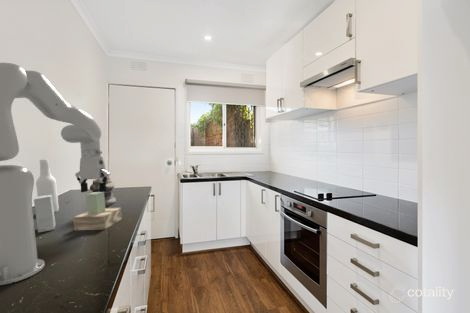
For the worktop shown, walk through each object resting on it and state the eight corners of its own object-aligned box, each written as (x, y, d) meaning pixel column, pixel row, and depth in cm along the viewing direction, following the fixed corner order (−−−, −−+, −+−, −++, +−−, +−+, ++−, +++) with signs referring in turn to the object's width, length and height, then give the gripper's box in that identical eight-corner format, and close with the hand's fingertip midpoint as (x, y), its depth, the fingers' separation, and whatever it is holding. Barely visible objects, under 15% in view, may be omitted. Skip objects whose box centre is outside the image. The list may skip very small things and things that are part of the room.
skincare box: (54, 230, 106) (51, 196, 105) (36, 233, 103) (33, 199, 102) (55, 224, 113) (52, 193, 112) (39, 227, 110) (36, 195, 109)
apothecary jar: (97, 216, 123) (94, 181, 122) (87, 213, 131) (84, 180, 129) (120, 210, 133) (118, 178, 132) (110, 207, 140) (107, 176, 139)
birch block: (105, 230, 104) (104, 216, 104) (74, 230, 105) (72, 217, 104) (122, 219, 118) (121, 207, 118) (94, 220, 119) (93, 208, 118)
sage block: (97, 214, 108) (95, 194, 107) (87, 214, 108) (86, 194, 108) (105, 210, 113) (103, 191, 112) (96, 210, 113) (94, 192, 113)
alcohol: (35, 214, 133) (29, 160, 130) (51, 209, 141) (46, 158, 139) (47, 215, 130) (41, 159, 128) (62, 210, 138) (57, 158, 136)
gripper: (113, 152, 111) (116, 189, 111) (81, 154, 114) (84, 190, 115) (101, 153, 103) (104, 193, 104) (67, 155, 107) (70, 193, 107)
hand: (93, 191), depth 109 cm, fingers open, 9 cm apart
